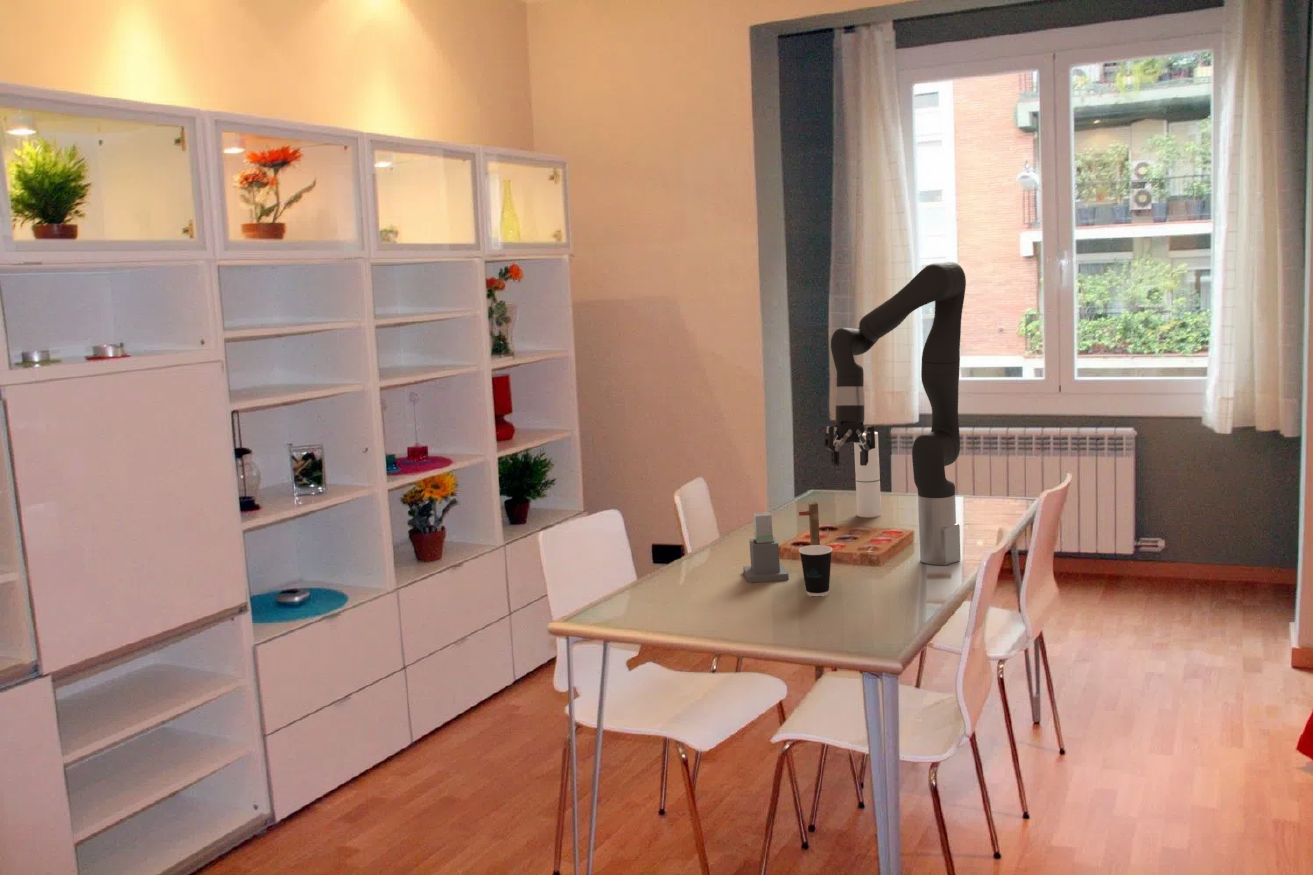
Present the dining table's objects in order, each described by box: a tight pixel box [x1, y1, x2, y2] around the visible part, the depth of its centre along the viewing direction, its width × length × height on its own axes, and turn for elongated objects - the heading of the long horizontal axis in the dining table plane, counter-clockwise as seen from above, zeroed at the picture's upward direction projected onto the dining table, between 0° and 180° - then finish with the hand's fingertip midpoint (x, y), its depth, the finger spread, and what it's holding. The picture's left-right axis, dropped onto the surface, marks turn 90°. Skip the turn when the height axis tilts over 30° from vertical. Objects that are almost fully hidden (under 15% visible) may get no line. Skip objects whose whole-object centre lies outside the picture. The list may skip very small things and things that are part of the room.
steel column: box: [752, 511, 774, 544], centre depth 289 cm, size 4×4×14 cm
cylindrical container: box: [853, 431, 882, 518], centre depth 346 cm, size 7×7×25 cm
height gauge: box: [798, 502, 821, 545], centre depth 290 cm, size 6×4×18 cm
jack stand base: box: [742, 536, 790, 584], centre depth 290 cm, size 10×10×9 cm
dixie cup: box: [798, 544, 833, 597], centre depth 271 cm, size 8×8×11 cm
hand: (849, 465), depth 303 cm, fingers open, 8 cm apart
